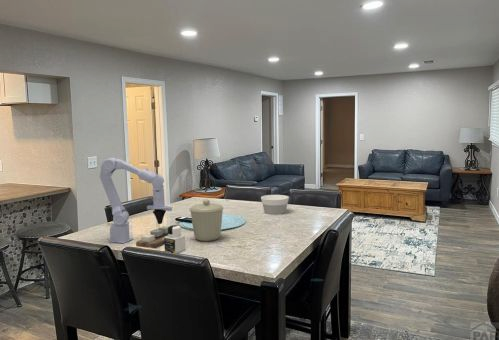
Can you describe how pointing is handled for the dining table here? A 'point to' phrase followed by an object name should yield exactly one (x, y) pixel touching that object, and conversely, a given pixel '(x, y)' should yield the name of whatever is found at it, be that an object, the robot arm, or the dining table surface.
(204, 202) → the canister
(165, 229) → the sage key
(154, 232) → the grey key
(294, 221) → the dining table surface
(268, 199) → the bowl
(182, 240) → the medicine bottle
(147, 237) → the cream key
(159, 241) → the keypad board
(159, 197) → the robot arm
